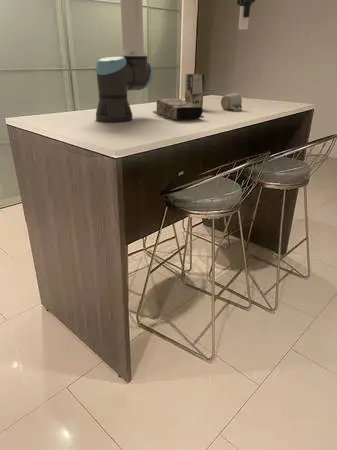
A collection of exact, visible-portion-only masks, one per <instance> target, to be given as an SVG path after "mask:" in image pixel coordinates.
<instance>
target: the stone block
mask: <svg viewBox="0 0 337 450" xmlns="http://www.w3.org/2000/svg"><path fill="white" fill-rule="evenodd" d="M155 111H157V112H156V113H157V114H160V115H164V116H167V117H170V118H173V120H178V121H179V120H180V121H181V120H183V121H185V120H186V121H187V120H199V119H200V118H202V117H201V115H203V111H204V107H203V108H202V107H199V106H197V105H194V104H192V103H189V102H187V101H185V99H181V98H157V99H156V110H155ZM156 113H155V114H156ZM157 114H156V115H157Z"/></svg>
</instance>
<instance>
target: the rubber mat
mask: <svg viewBox="0 0 337 450" xmlns="http://www.w3.org/2000/svg"><path fill="white" fill-rule="evenodd" d="M156 112H157V110H152V113H154V114H156V116H160V117H161V118H163V119H165V120H169V119H171V120H172V119H173V118H170V117H167V116H164V115H160V114H157V113H156ZM200 118H205V115H203V114H202V115H201V117H200ZM173 120H174V119H173Z"/></svg>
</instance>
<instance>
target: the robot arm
mask: <svg viewBox="0 0 337 450" xmlns="http://www.w3.org/2000/svg"><path fill="white" fill-rule="evenodd" d="M255 2H256V0H236V5H239V20H238V29H237V30H249V22H250V20H249V19H250V11H251V6H252V5H253V3H255ZM143 10H144V9H143V0H120V17H121V19H120V20H121V38H122V51H121V53H120V54H119V56H111V57H110V56H109V57H103V58H100V59H99V58H98V60H97V61H96V71H95V72H96V82H97V92H98V93H97V95H98V102H97V106H96V112H95V120H96V121H98V122H104V123H106V122H107V123H121V122H122V123H124V122H129V121H132V120H133V112H132V109H131V106H130V103H129V100H128V92H130V91H140V90H142V89H146V88H148V87H149V86H150V84H151V83H152V80H153V78H154V70H153V67H152V65H151V63H150V62H149V61H148V55H147V53H146V52H145V49H144V17H143V16H144V15H143V14H144V13H143V12H144V11H143Z"/></svg>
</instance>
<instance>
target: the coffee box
mask: <svg viewBox="0 0 337 450" xmlns="http://www.w3.org/2000/svg"><path fill="white" fill-rule="evenodd" d="M184 83H185V84H184V101H187V102H189V103H192V104H194V105H197V106H199V107H202V108H203V109H204V107H203V104H204V87H205V74H202V73H185V82H184Z"/></svg>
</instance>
